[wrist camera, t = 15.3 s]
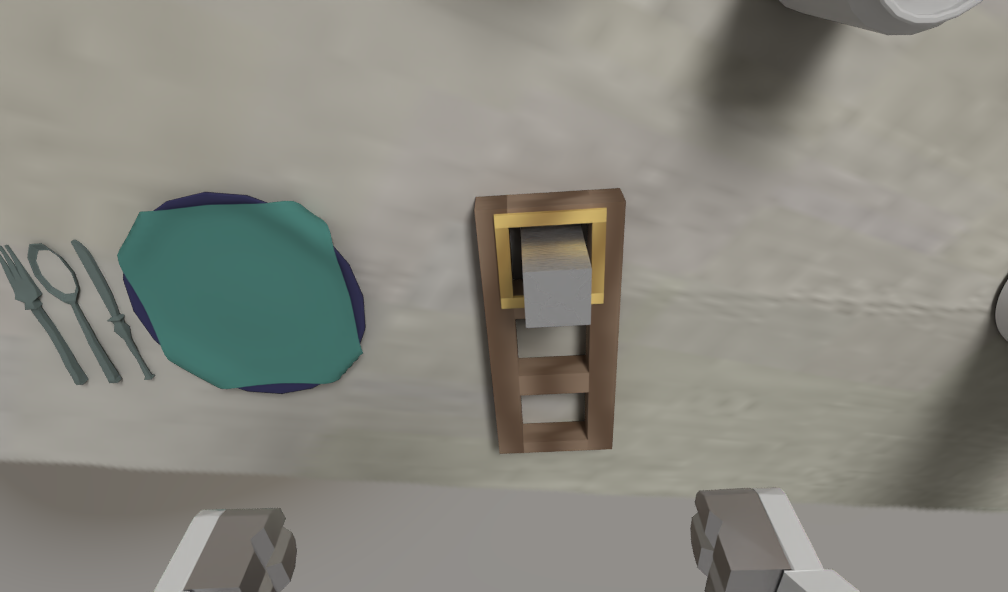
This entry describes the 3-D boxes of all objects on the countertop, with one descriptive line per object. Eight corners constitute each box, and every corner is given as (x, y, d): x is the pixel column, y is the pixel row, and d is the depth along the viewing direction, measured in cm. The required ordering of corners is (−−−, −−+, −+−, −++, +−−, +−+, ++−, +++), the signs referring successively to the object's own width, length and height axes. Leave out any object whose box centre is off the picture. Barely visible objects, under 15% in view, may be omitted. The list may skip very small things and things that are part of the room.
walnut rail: (619, 188, 42) (626, 203, 40) (608, 429, 56) (612, 451, 54) (475, 197, 43) (474, 212, 40) (500, 434, 57) (499, 456, 54)
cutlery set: (390, 375, 53) (385, 392, 51) (90, 390, 55) (74, 406, 53) (340, 174, 42) (332, 185, 40) (-28, 201, 44) (-54, 212, 42)
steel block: (578, 217, 44) (591, 268, 37) (578, 268, 46) (590, 324, 39) (520, 221, 44) (522, 272, 37) (523, 271, 46) (526, 328, 40)
